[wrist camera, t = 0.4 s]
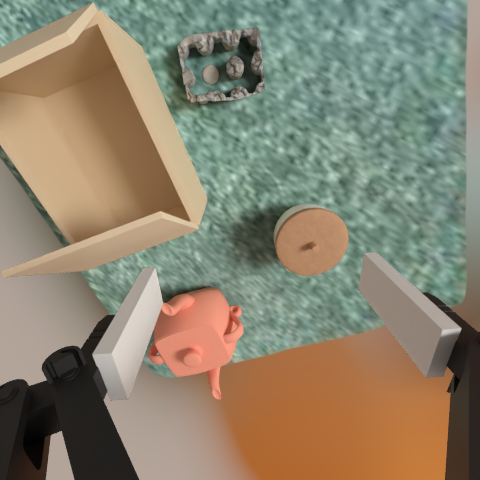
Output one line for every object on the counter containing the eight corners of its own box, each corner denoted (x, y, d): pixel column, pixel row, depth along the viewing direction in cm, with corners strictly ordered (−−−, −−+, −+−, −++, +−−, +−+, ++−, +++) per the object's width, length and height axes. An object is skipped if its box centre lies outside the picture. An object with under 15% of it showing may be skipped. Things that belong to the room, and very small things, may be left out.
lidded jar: (290, 264, 48) (303, 294, 40) (256, 221, 45) (262, 243, 36) (341, 230, 46) (366, 254, 37) (309, 182, 42) (329, 196, 34)
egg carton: (189, 106, 38) (185, 104, 34) (179, 44, 35) (172, 34, 31) (263, 98, 38) (266, 95, 34) (259, 34, 35) (262, 23, 31)
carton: (38, 94, 36) (-46, 80, 25) (141, 47, 34) (100, 9, 23) (121, 232, 45) (85, 266, 34) (207, 199, 43) (199, 224, 32)
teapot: (177, 262, 47) (160, 306, 36) (256, 297, 51) (263, 347, 39) (148, 321, 52) (124, 376, 41) (221, 348, 56) (219, 406, 44)
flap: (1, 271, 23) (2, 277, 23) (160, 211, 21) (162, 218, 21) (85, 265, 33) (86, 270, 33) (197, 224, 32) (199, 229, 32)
